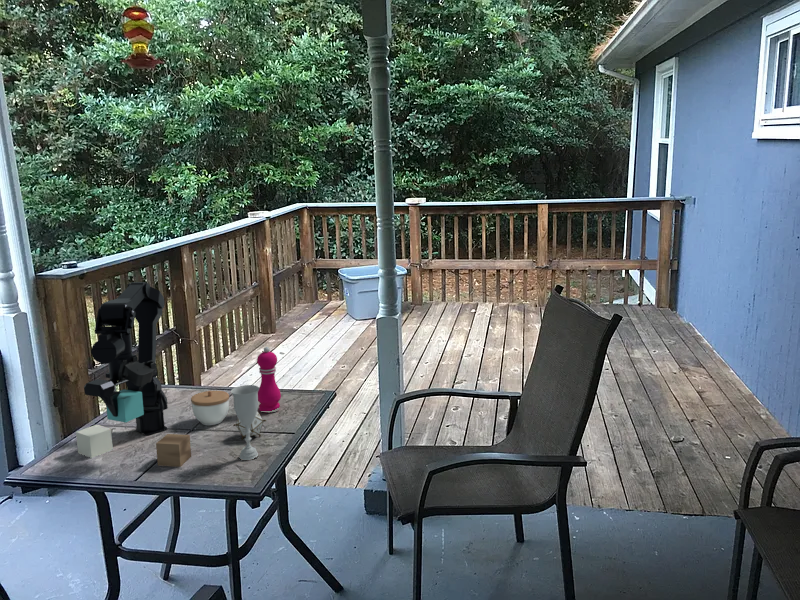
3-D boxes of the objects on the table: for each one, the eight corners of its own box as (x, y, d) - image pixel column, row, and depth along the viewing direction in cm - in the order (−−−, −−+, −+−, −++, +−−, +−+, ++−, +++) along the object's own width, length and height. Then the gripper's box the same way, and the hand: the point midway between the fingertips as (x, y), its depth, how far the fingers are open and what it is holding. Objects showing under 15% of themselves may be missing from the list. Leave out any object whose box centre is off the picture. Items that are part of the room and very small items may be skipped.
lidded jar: (187, 420, 194) (185, 390, 192) (221, 412, 201) (220, 382, 199) (200, 431, 186) (198, 399, 184) (236, 422, 192) (234, 391, 190)
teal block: (125, 411, 170) (123, 389, 169) (143, 414, 168) (141, 391, 167) (107, 419, 165) (105, 396, 164) (125, 422, 162) (123, 399, 161)
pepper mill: (258, 415, 198) (255, 350, 194) (256, 407, 205) (253, 345, 201) (282, 412, 200) (279, 348, 196) (280, 404, 207) (277, 343, 203)
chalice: (246, 449, 173) (242, 383, 170) (268, 453, 171) (264, 386, 168) (229, 460, 167) (225, 392, 163) (252, 464, 164) (248, 395, 161)
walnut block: (169, 455, 170) (167, 433, 169) (191, 456, 169) (189, 434, 168) (157, 465, 164) (155, 443, 163) (180, 467, 163) (178, 444, 162)
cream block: (99, 445, 177) (97, 424, 176) (112, 450, 174) (110, 428, 173) (78, 453, 172) (75, 431, 171) (91, 458, 169) (89, 436, 168)
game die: (254, 446, 185) (269, 412, 188) (259, 446, 177) (274, 411, 180) (224, 433, 182) (240, 400, 186) (228, 433, 175) (244, 398, 178)
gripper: (115, 365, 152) (121, 429, 155) (171, 346, 168) (176, 404, 171) (79, 361, 156) (86, 423, 159) (138, 342, 173) (143, 399, 176)
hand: (125, 412), depth 166 cm, fingers closed on teal block, 6 cm apart
